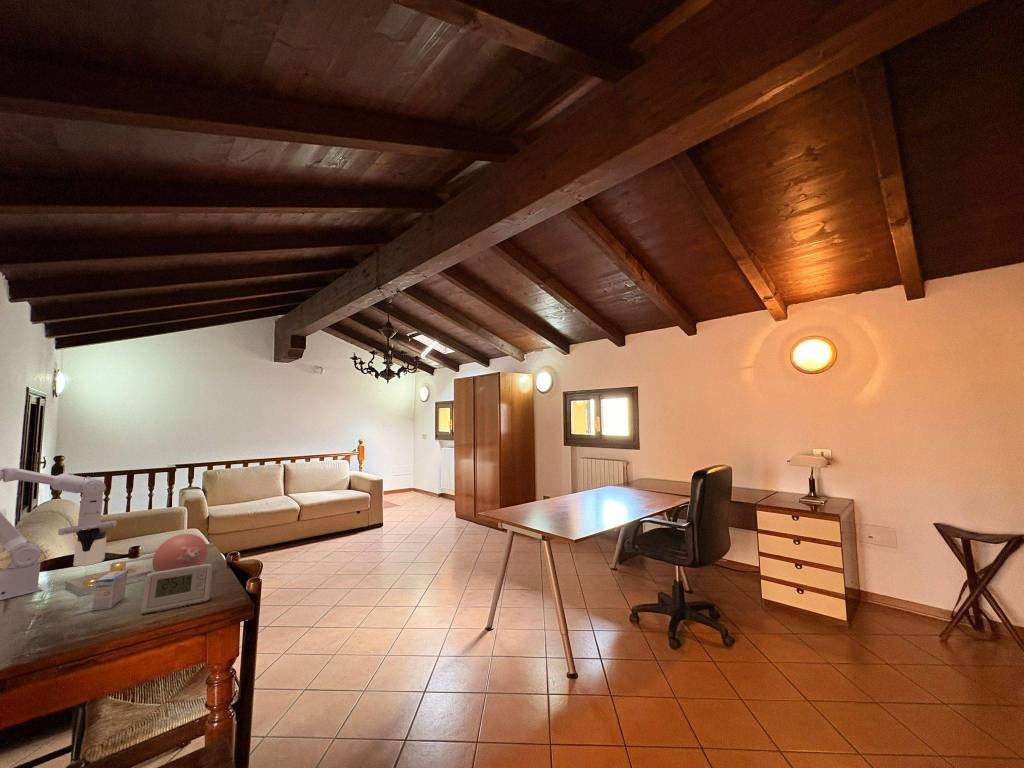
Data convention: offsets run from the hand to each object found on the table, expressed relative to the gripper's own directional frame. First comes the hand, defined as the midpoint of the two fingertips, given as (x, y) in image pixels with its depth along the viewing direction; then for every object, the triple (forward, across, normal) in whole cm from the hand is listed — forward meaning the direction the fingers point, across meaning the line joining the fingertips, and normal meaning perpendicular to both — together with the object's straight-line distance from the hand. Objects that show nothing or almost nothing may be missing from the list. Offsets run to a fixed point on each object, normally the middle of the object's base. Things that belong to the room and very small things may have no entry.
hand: (86, 550), depth 142 cm
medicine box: (+10, -4, -37) cm, 39 cm away
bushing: (+10, +5, -13) cm, 17 cm away
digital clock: (+10, +5, -57) cm, 58 cm away
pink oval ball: (+10, +16, -33) cm, 38 cm away
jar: (+10, +8, +24) cm, 27 cm away
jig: (+10, +3, -14) cm, 17 cm away
